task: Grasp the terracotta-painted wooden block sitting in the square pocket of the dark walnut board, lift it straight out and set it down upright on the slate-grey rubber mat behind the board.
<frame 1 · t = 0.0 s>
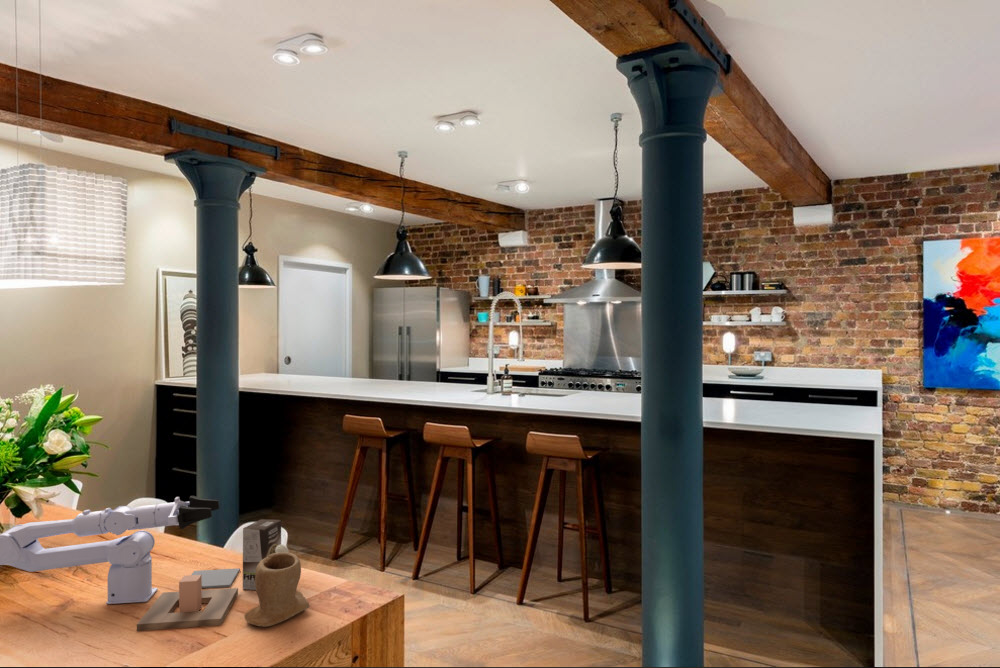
hand: (215, 508, 172), 22 cm above the table, tool horizontal, fingers open, 7 cm apart
terracotta block: (190, 594, 161), in the walnut pocket board
coffee box: (262, 584, 178), on the table
grandmother figurine: (281, 595, 171), on the table
slate mat: (211, 579, 181), on the table
stone cup: (281, 618, 158), on the table
walnut pocket board: (190, 611, 161), on the table
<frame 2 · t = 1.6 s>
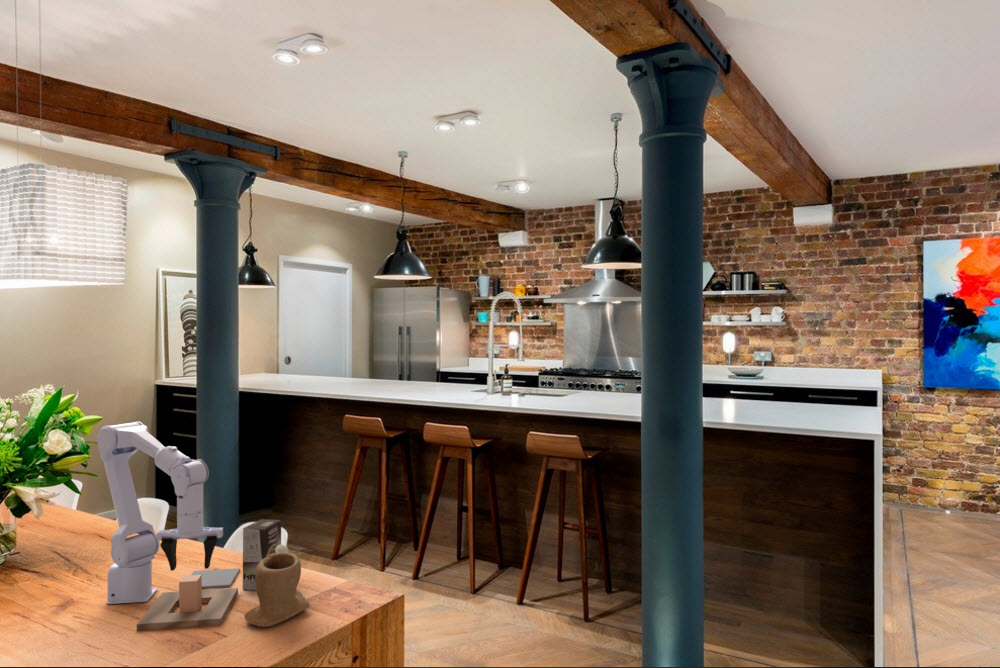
hand: (190, 568, 161), 10 cm above the table, tool pointing down, fingers open, 7 cm apart
nothing on the table moved.
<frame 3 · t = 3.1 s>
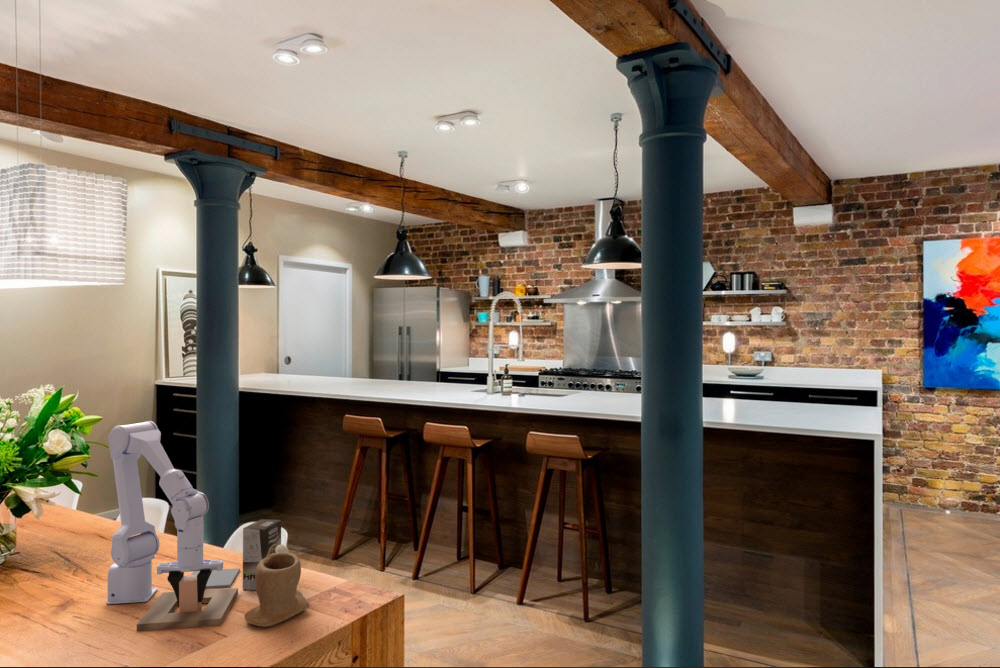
hand: (190, 601, 161), 2 cm above the table, tool pointing down, fingers closed on terracotta block, 4 cm apart
terracotta block: (190, 594, 161), in the walnut pocket board, touching gripper
everything else where it was.
when the fingers open (4 cm above the table, at t = 7.7 s): terracotta block stays where it is, resting on slate mat.
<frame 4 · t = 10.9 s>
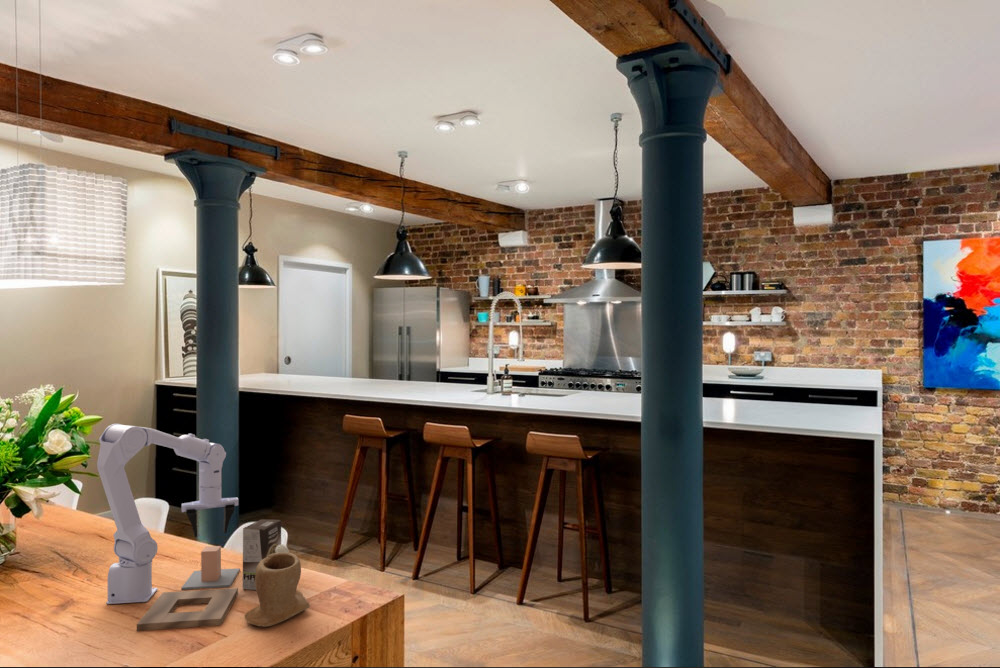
hand: (210, 533, 187), 10 cm above the table, tool pointing down, fingers open, 7 cm apart
terracotta block: (211, 563, 180), on the slate mat, point 5 cm above the table
everything else where it was.
at the end: terracotta block inside the target area on the slate mat (0.5 cm from its centre), point 4.6 cm above the slate mat's base; terracotta block tilted 0°; the gripper is holding nothing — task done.
